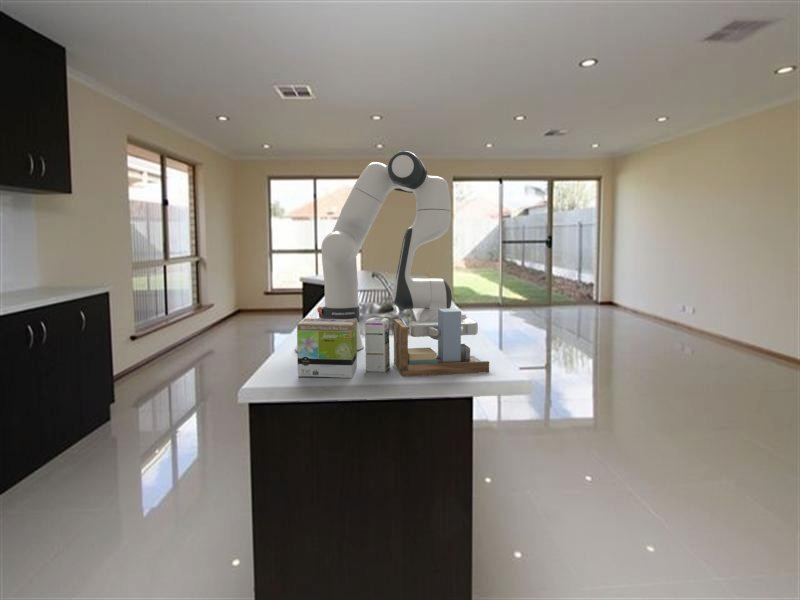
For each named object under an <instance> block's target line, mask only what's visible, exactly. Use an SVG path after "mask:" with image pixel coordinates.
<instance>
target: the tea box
mask: <svg viewBox="0 0 800 600" xmlns="http://www.w3.org/2000/svg"><path fill="white" fill-rule="evenodd" d="M296 325H297V326H296V329H297V330H296V335H297V336H296V340H297V341H296V345H297V351H296V355H297V358H296V359H297V361H296V362H297V377H298V378H301V377H316V378H317V377H322V378H337V379H338V378H340V379H341V378H342V379H352V378H353V376H354V374H355V373H356V370H357V367H358V365H357V363H358V362H357V361H358V360H357V359H358V350H357V320H352V319H319V318H306V317H305V319H303V320H302V321H300V322H299V323H298V324H296Z"/></svg>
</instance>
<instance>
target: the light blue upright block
mask: <svg viewBox="0 0 800 600" xmlns="http://www.w3.org/2000/svg"><path fill="white" fill-rule="evenodd" d="M461 314H462V311H461V310H459V309H457V308H454V307H453V308H452V307H450V309H438V329H440V330H441V336H438V340H437V357H439V358H440V359H441V360H442V361H443V362H450V361H461V344H462V343H461V342H462V340H461V339H462V335H461Z"/></svg>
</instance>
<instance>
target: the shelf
mask: <svg viewBox="0 0 800 600" xmlns="http://www.w3.org/2000/svg"><path fill="white" fill-rule="evenodd" d="M406 325H407V324H405V323H404V322H403V321H402V320H401V319H400V318H393V366H395V368H396V369H397V370H398V372H399V374H400V375H401V377H419V376H420V377H421V376H439V375H459V374H460V375H462V374H463V375H464V374H479V372H486V373H490V361H489V360H480V361H475V362H461V361H450V362H443V361H442V360H441V359H440V358H439V357H438V356H436V358H437V359H438V360H437V363H430V364H408V348H409V346H408V345H409V329H408V327H407V326H406ZM474 358H477V357H476V356H475V355H470V359H474Z"/></svg>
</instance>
